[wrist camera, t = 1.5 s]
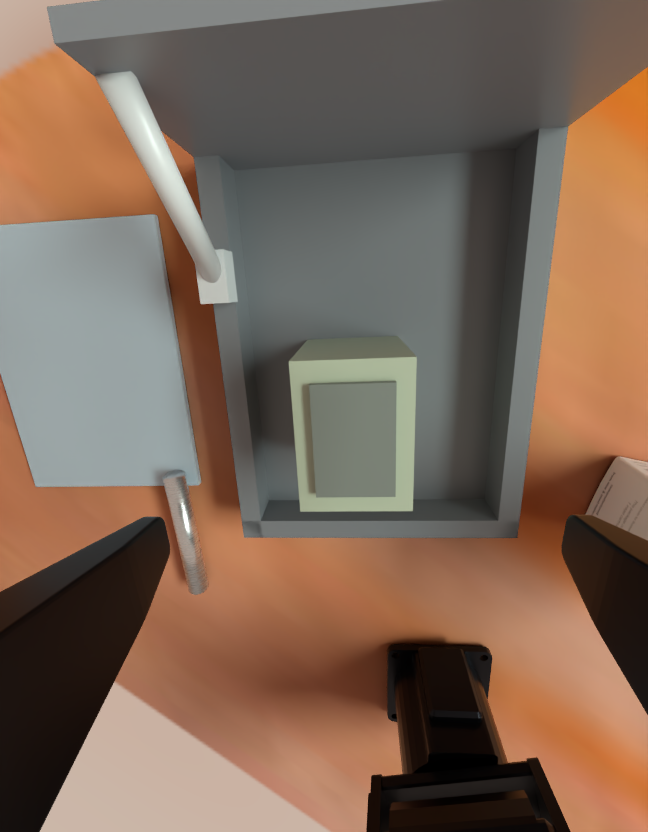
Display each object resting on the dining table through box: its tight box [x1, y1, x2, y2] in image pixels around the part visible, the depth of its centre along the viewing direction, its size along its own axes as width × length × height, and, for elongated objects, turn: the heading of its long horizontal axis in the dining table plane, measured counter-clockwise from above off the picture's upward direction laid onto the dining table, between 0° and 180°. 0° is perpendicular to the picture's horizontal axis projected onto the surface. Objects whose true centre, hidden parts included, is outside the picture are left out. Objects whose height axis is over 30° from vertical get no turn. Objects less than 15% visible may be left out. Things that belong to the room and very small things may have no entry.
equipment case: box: [47, 0, 648, 538], centre depth 15 cm, size 18×14×10 cm
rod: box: [163, 470, 209, 595], centre depth 23 cm, size 8×1×1 cm, turn 3°
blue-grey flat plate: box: [0, 214, 201, 487], centre depth 21 cm, size 14×10×1 cm
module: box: [289, 336, 417, 512], centre depth 17 cm, size 6×4×6 cm
